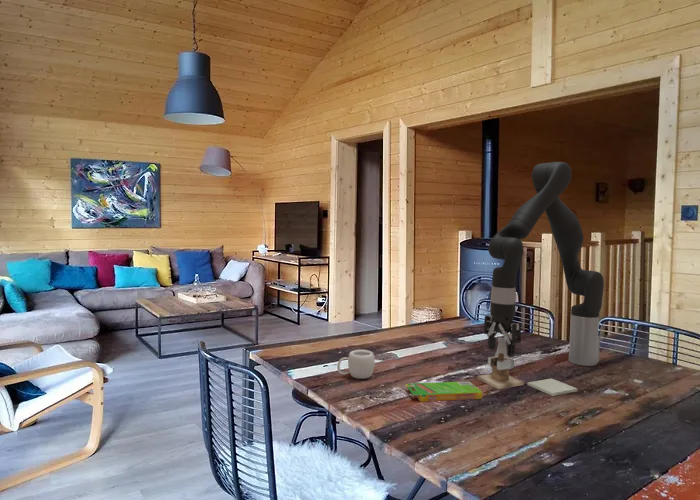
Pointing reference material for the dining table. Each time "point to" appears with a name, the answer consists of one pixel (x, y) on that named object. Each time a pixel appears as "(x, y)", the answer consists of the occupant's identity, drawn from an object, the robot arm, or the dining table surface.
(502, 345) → the flask
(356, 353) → the mug
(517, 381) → the post stand
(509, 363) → the c link
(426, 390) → the game box
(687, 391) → the dining table surface
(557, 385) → the coaster
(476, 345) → the dining table surface
